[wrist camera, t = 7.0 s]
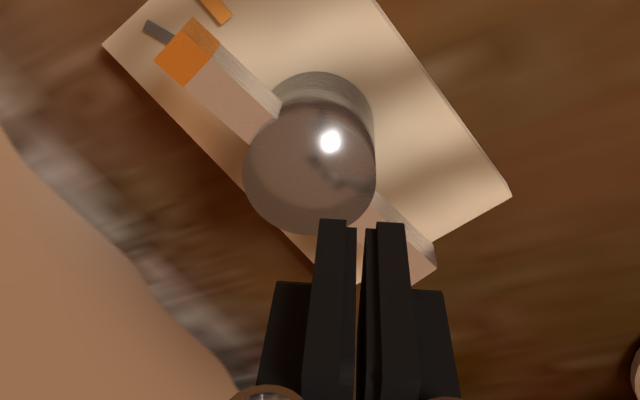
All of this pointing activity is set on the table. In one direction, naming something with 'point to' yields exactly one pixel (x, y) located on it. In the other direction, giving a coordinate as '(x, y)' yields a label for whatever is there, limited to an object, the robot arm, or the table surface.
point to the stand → (340, 59)
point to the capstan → (295, 142)
